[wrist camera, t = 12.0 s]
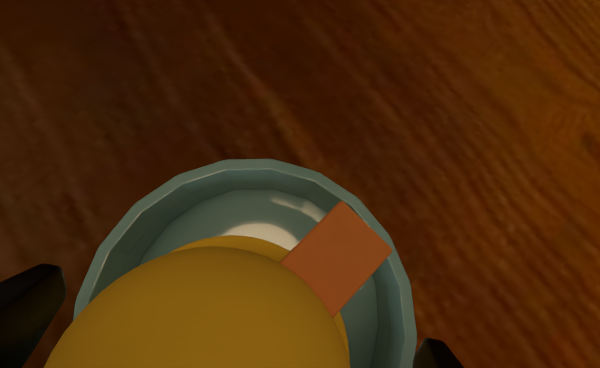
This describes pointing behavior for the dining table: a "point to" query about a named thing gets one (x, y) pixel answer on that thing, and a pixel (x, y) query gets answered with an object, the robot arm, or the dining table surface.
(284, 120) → the dining table surface
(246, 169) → the pan
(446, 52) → the dining table surface
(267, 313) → the duck toy
